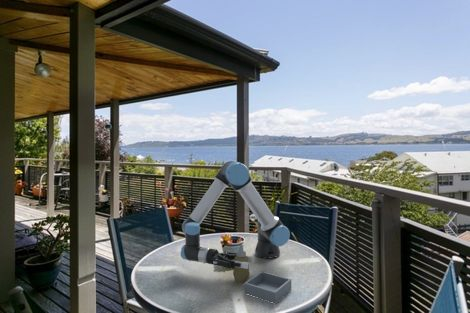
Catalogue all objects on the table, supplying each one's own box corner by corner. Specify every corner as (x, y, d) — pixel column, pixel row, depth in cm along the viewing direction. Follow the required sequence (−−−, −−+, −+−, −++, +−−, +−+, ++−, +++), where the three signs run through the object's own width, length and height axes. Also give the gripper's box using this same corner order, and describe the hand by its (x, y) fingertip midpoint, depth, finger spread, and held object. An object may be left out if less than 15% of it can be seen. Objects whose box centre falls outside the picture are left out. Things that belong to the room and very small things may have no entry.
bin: (261, 281, 152) (261, 271, 151) (291, 289, 143) (291, 279, 142) (244, 294, 139) (244, 283, 139) (275, 304, 130) (275, 292, 130)
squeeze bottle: (235, 286, 147) (235, 248, 146) (231, 279, 154) (231, 243, 154) (251, 284, 149) (251, 246, 148) (246, 277, 157) (246, 241, 156)
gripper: (218, 256, 168) (258, 263, 158) (198, 270, 150) (242, 278, 140) (218, 242, 168) (257, 248, 158) (198, 255, 149) (242, 262, 140)
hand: (250, 262), depth 149 cm, fingers open, 7 cm apart
